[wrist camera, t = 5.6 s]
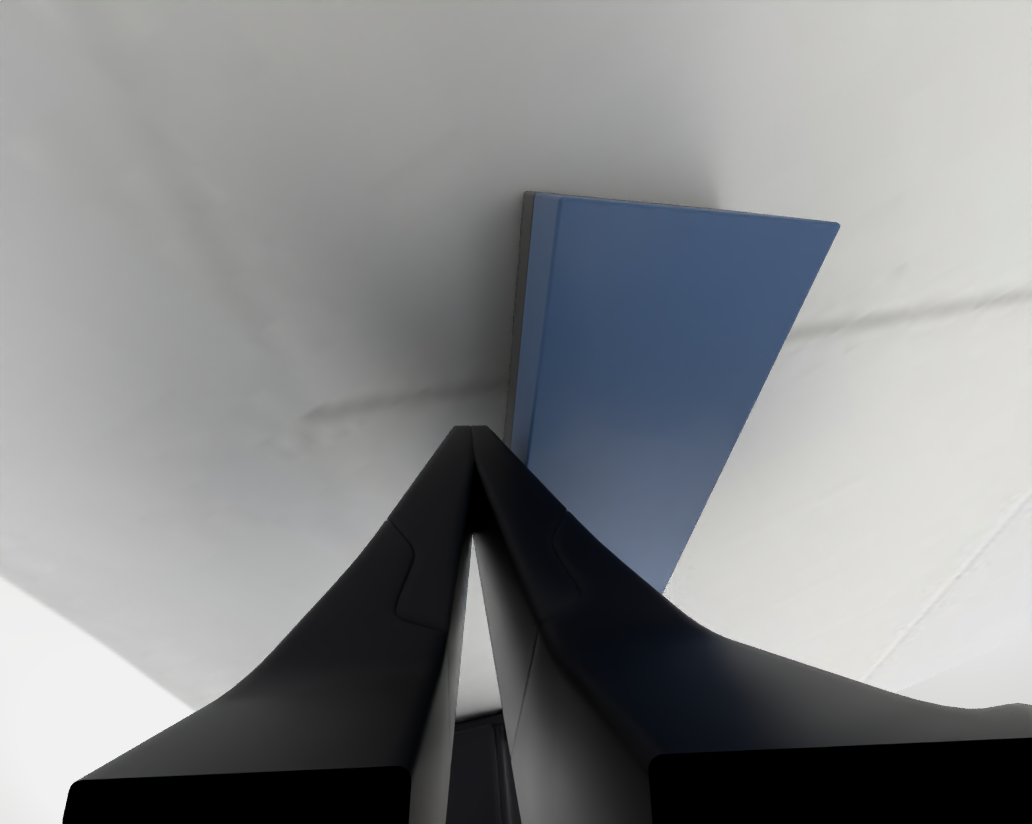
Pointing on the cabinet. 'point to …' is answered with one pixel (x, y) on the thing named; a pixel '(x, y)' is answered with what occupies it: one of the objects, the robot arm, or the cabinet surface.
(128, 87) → the cabinet surface
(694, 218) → the whiteboard eraser
